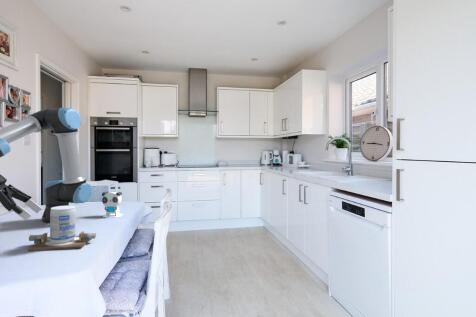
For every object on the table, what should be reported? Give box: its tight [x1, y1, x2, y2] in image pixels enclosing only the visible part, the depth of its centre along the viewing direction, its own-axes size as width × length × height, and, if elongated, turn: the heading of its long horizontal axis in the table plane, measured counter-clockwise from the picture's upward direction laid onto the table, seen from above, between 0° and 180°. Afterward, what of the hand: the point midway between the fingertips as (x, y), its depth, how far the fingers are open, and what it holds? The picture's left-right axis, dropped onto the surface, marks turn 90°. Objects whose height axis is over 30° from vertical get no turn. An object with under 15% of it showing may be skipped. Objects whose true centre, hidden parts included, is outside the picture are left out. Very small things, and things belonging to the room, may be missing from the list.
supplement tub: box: [49, 205, 77, 243], centre depth 124 cm, size 10×10×15 cm
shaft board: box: [27, 231, 97, 252], centre depth 124 cm, size 16×26×5 cm, turn 100°
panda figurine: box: [101, 191, 123, 219], centre depth 177 cm, size 12×11×15 cm
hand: (34, 214), depth 120 cm, fingers open, 13 cm apart
